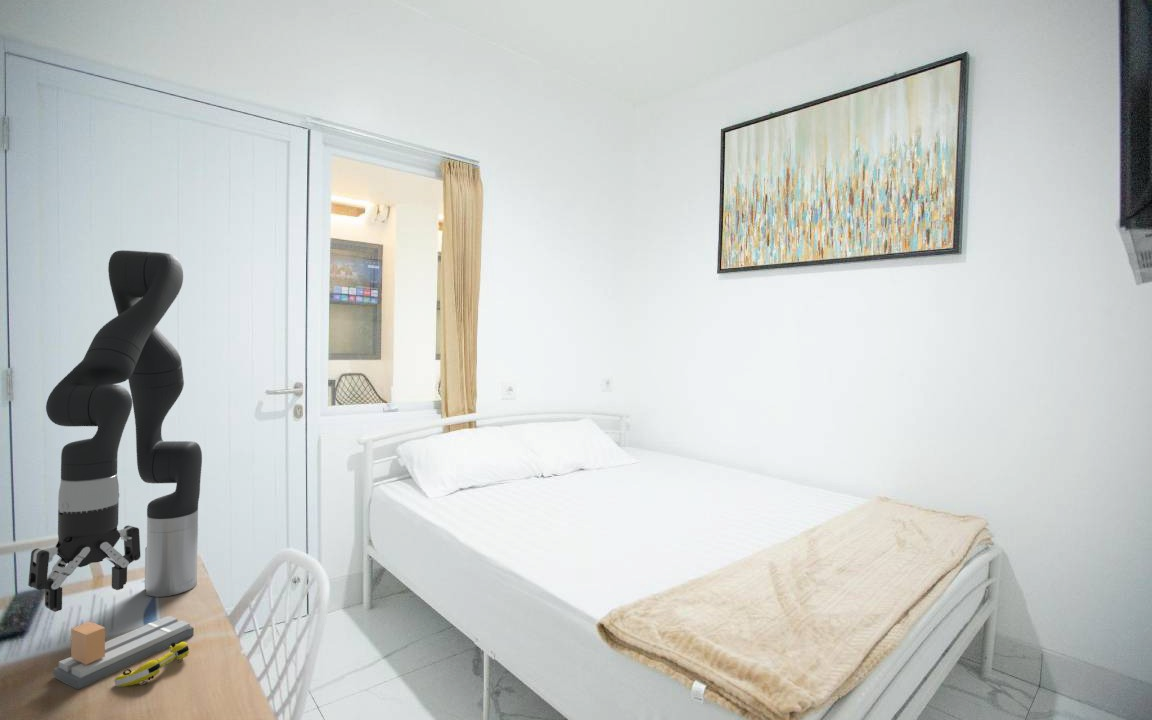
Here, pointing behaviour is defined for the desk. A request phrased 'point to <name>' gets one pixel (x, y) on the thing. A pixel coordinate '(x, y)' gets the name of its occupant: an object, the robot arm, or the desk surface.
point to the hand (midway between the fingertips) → (87, 598)
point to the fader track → (124, 651)
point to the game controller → (152, 666)
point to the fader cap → (87, 642)
